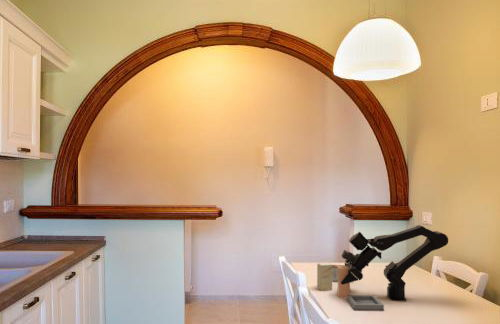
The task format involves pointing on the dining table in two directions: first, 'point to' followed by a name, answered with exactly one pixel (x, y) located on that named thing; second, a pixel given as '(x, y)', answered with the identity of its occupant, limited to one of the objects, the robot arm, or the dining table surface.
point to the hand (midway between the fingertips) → (340, 280)
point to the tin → (335, 273)
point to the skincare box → (324, 276)
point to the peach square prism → (345, 288)
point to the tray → (365, 302)
